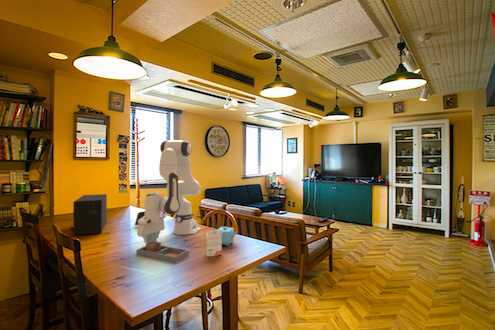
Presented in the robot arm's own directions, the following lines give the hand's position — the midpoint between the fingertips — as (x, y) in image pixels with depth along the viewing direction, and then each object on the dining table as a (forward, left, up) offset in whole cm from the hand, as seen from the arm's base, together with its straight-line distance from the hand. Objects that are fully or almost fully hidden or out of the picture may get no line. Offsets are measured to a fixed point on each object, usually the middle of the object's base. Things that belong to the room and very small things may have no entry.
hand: (151, 240), depth 161 cm
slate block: (0, -1, -4) cm, 4 cm away
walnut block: (+11, +12, -3) cm, 16 cm away
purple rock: (-36, -35, -4) cm, 51 cm away
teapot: (-23, +40, -4) cm, 46 cm away
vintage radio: (-10, -71, -4) cm, 72 cm away
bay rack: (+11, +19, -4) cm, 22 cm away
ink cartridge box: (-3, +44, -4) cm, 44 cm away
